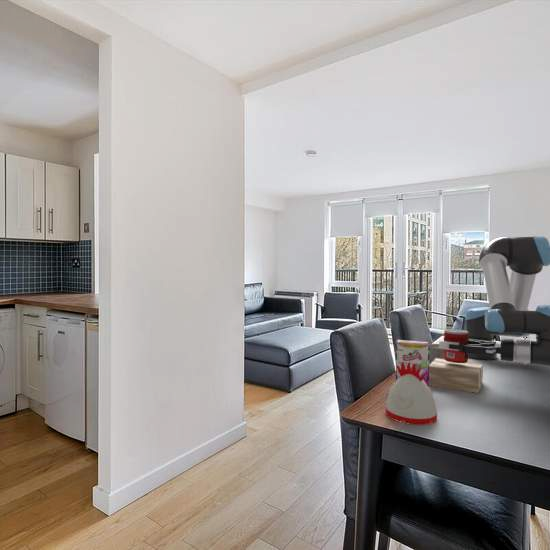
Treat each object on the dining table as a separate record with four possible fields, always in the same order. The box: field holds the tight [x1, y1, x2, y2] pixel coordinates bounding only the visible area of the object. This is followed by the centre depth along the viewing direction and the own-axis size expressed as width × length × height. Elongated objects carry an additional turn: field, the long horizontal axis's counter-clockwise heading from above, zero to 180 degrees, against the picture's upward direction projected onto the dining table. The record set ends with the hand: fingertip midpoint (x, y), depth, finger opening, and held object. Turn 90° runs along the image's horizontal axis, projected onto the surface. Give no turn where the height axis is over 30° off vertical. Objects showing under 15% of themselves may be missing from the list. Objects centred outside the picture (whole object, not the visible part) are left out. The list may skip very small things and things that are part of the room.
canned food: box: [443, 328, 469, 363], centre depth 136 cm, size 8×8×11 cm
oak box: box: [429, 358, 484, 394], centre depth 136 cm, size 14×16×7 cm
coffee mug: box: [429, 343, 444, 365], centre depth 155 cm, size 13×10×10 cm
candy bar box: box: [394, 339, 430, 388], centre depth 131 cm, size 11×5×16 cm, turn 71°
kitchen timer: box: [385, 362, 438, 426], centre depth 107 cm, size 14×14×15 cm
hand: (441, 342), depth 138 cm, fingers closed on canned food, 8 cm apart
